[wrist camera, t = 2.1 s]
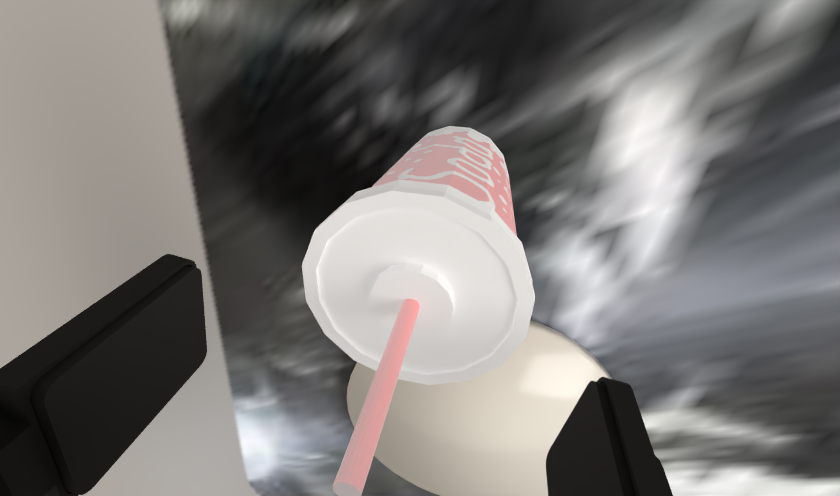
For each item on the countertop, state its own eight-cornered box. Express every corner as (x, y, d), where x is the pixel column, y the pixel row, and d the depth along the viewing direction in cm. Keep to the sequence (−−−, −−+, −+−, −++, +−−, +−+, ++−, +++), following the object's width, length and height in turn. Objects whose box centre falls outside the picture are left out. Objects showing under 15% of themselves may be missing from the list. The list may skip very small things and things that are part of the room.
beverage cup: (558, 170, 17) (647, 525, 6) (464, 262, 21) (395, 616, 9) (442, 73, 16) (255, 256, 5) (362, 185, 20) (127, 467, 8)
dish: (371, 269, 22) (364, 282, 21) (679, 356, 21) (688, 375, 20) (341, 447, 30) (335, 462, 29) (559, 515, 29) (561, 534, 28)
